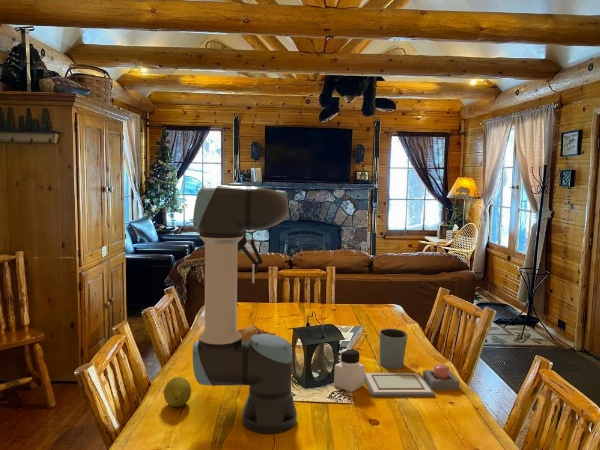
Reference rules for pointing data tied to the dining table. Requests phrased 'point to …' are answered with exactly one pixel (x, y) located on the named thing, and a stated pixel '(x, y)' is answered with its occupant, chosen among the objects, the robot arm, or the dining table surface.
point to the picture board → (397, 385)
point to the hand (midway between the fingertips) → (234, 282)
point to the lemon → (177, 391)
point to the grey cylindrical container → (392, 348)
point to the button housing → (441, 381)
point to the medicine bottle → (349, 371)
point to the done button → (441, 371)
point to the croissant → (252, 332)
